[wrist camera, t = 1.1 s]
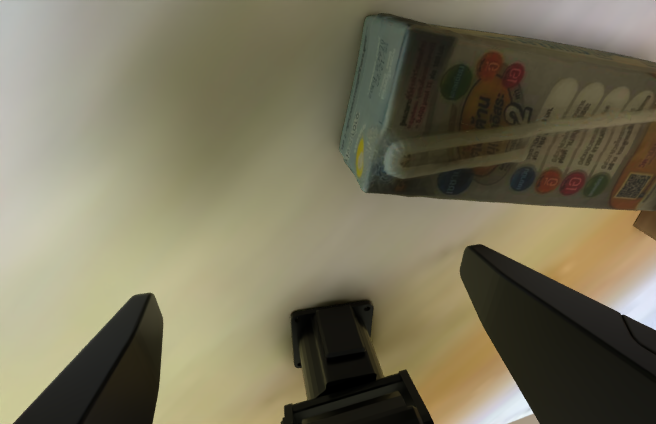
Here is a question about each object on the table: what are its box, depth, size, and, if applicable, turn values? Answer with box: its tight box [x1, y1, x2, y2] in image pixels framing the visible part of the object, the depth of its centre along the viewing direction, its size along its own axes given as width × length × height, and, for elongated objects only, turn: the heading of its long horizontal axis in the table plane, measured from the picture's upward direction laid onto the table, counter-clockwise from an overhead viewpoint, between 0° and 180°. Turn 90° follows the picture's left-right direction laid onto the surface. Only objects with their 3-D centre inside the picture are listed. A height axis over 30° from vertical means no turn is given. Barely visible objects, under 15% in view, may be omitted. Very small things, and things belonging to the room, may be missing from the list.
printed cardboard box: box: [339, 13, 656, 211], centre depth 20 cm, size 8×19×6 cm, turn 80°
